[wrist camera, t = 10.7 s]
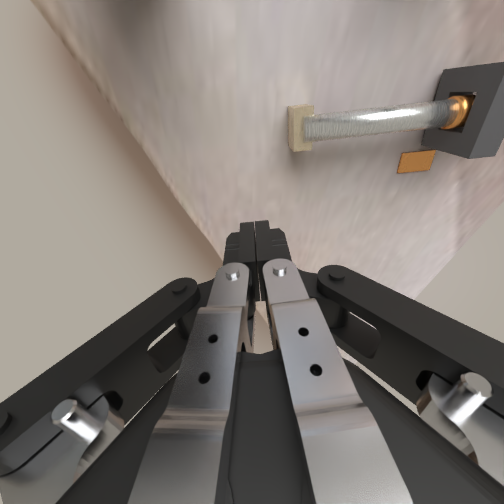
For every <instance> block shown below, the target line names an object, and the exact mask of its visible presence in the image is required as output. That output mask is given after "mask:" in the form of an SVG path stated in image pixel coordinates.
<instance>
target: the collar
mask: <svg viewBox="0 0 504 504" xmlns="http://www.w3.org/2000/svg"><path fill="white" fill-rule="evenodd" d="M473 92H477V94H476V97H475V100H474V102H473V105H472V108H471V110H470V113H469V115H468V118H467V121H466V123H465V126H464V127H460V128H451V129H442V128H431V129H426V131H425V134H424V137H423V141H422V144H421V145H422V146H426V147H429V148H433V149H436V150H440V151H443V152H447V153H450V154H454V155H457V156H461V157H464V158H467V159H472V158H482V157H491V156H495V155H496V153H497V151H498V149H499V147H500V144H501V142H502V140H503V138H504V62H499V63H491V64H484V65H476V66H468V67H461V68H453V69H445V70H443V73H442V77H441V80H440V83H439V87H438V90H437V94H436V97H435V100H434V101H439V100H447V99H448V98H450V97H453V96H461V95H469V94H473Z"/></svg>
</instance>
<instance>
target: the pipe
mask: <svg viewBox="0 0 504 504" xmlns="http://www.w3.org/2000/svg"><path fill="white" fill-rule="evenodd" d="M475 97H476V95H474V94H469V95H461V96H453V97H450V98H448V99H447V100H439V101H430V102H422V103H413V104H404V105H396V106H387V107H379V108H370V109H362V110H353V111H345V112H336V113H328V114H319V115H314V106H313V105H307V104H304V105H295V106H288V145H289V146H290V148H291V149H292V150H293V151H294V152H297V151H306V150H312V142H316V141H324V140H333V139H342V138H351V137H360V136H369V135H378V134H387V133H396V132H405V131H414V130H423V129H431V128H442V129H451V128H460V127H464V126H465V123H466V121H467V118H468V115H469V113H470V110H471V108H472V105H473V102H474V100H475ZM435 152H436V150H427V151H418V152H408V153H402V155H401V158H400V162H399V166H398V170H397V173H405V172H414V171H424V170H430V167H431V164H432V161H433V158H434V155H435Z"/></svg>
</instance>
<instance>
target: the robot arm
mask: <svg viewBox="0 0 504 504" xmlns="http://www.w3.org/2000/svg"><path fill="white" fill-rule="evenodd" d="M255 233H256V238H255ZM258 273H259V275H258ZM259 282H260V291H261V301H266V310H267V318H268V324H269V329H270V334H271V340H272V345H273V351H270V352H267V353H264V354H255V353H253V348H254V331H255V310H256V303H255V302H256V301H260V291H259ZM350 312H352V313H353V314H355V315H356V316H358V317H360V318H361V319H363V320H365V321H366V322H368V323H369V324H371V325H373V326H374V327H375V328H376V329H377V330H376V329H375V328H373V327H371V326H370V325H368V324H367V323H365V322H363V321H362V320H360V319H359V318H357V317H355V316H354V315H352V314H351V313H350ZM174 323H175V326H176V327H174V328H173V329H172V330H171V331H170V332H169V333H168V334H167V335H165V336H164V337H163V338H162V339H161V340H160V341H158V342H157V343H156V344H155V345H154V346H153V347H152V348H150V349H149V350H148V347H149V345H150V344H151V343H152V342H153V341H154V340H155V339H156V338H157V337H159V336H160V335H161V334H162V333H163V332H164V331H166V330H167V329H168V328H169V327H170V326H171V325H173V324H174ZM337 346H338V347H340V348H341V349H342V350H344V351H345V352H346V353H348V354H349V355H350V356H352V357H353V358H354V359H356V360H357V361H358V362H360V363H361V364H362V365H364V366H365V367H366V368H367V369H369V370H370V371H371V372H373V373H374V374H375V375H377V376H378V377H379V378H381V379H382V380H383V381H385V382H386V383H387V384H389V385H390V386H391V387H392V388H394V389H395V390H396V391H398V392H399V393H400V394H402V395H403V396H404V397H406V398H407V399H409V400H410V401H411V402H412V403H413V404H415V405H416V406H417V411H418V413H419V416H420V417H419V416H418V415H416V414H415V413H414V412H413V411H412V410H410V409H409V408H408V407H407V406H405V405H404V404H403V403H402V402H401V401H399V400H398V399H397V398H396V397H395V396H393V395H392V394H391V393H390V392H388V391H387V390H386V389H385V388H384V387H382V386H381V385H380V384H379V383H377V382H376V381H375V380H374V379H373V378H371V377H370V376H369V375H368V374H366V373H365V372H364V371H363V370H361V369H360V368H359V367H358V366H356V365H354V364H353V363H351V362H350V361H348V360H346V359H344V358H342V357H341V354H340V352H339V350H338V348H337ZM147 350H148V351H147ZM178 370H179V371H178ZM177 371H178V373H176V372H177ZM175 373H176V374H175ZM174 374H175V375H174ZM173 375H174V376H173ZM172 376H173V377H172ZM171 377H172V378H171ZM170 378H171V379H170ZM163 385H164V386H163ZM162 386H163V387H162ZM161 387H162V388H161ZM160 388H161V389H160ZM159 389H160V390H159ZM158 390H159V391H158ZM157 391H158V392H157ZM156 392H157V393H156ZM155 393H156V394H155ZM151 398H152V399H151ZM150 399H151V400H150ZM149 400H150V401H149ZM148 401H149V402H148ZM147 402H148V403H147ZM146 403H147V404H146ZM145 404H146V405H145ZM144 405H145V406H144ZM143 406H144V407H143ZM142 407H143V408H142ZM141 408H142V410H141V411H140V412H139V413H138V414H137V415H136V416H135V417H134V418H133V419H132V420H131V421H130V423H129V424H128V425H127V426H126V427H125V428H124V425H125V424H126V423H127V422H128V421H129V420H130V419H131V418H132V417H133V416H134V415H135V414H136V413H137V412H138V411H139V410H140V409H141ZM0 493H1V497H2V501H3V504H504V343H501V342H500V341H498V340H495V339H493V338H491V337H489V336H487V335H485V334H483V333H481V332H479V331H477V330H475V329H473V328H471V327H469V326H467V325H464V324H462V323H460V322H458V321H456V320H454V319H452V318H450V317H448V316H446V315H443V314H442V313H440V312H437V311H435V310H433V309H431V308H429V307H427V306H425V305H423V304H421V303H419V302H417V301H415V300H413V299H410V298H408V297H406V296H404V295H402V294H400V293H398V292H396V291H394V290H392V289H390V288H388V287H386V286H384V285H381V284H379V283H377V282H375V281H373V280H371V279H369V278H367V277H365V276H363V275H361V274H359V273H357V272H354V271H352V270H350V269H348V268H346V267H343V266H339V265H328V266H325V267H323V268H321V269H320V270H319V271H318V274H316V273H309V272H305V271H302V270H299V269H298V268H297V267H296V265H295V264H294V263H293V262H292V260H291V256H290V252H289V248H288V245H287V241H286V237H285V234H284V232H283V231H282V230H280V229H279V228H277V229H270V227H269V221H268V220H265V221H255V229H254V222H245V223H240V232H236V233H231V234H230V235H229V236H228V237H227V240H226V247H225V253H224V260H223V266H222V267H221V268H219V269H218V271H217V272H216V275H215V278H214V279H212V280H210V281H207V282H204V283H201V284H198V285H197V282H196V281H195V280H194V279H192V278H179V279H176V280H174V281H172V282H170V283H169V284H167V285H166V286H164V287H163V288H162V289H160V290H159V291H157V292H156V293H155V294H153V295H152V296H150V297H149V298H148V299H146V300H145V301H144V302H142V303H141V304H139V305H138V306H136V307H135V308H133V309H132V310H131V311H129V312H128V313H127V314H125V315H124V316H122V317H121V318H119V319H118V320H117V321H115V322H114V323H113V324H111V325H110V326H108V327H107V328H105V329H104V330H103V331H101V332H100V333H98V334H97V335H96V336H94V337H93V338H91V339H90V340H89V341H87V342H86V343H84V344H83V345H82V346H80V347H79V348H77V349H76V350H75V351H73V352H72V353H70V354H69V355H68V356H66V357H65V358H63V359H62V360H60V361H59V362H58V363H56V364H55V365H53V366H52V367H51V368H49V369H48V370H46V371H45V372H44V373H42V374H41V375H39V376H38V377H37V378H35V379H34V380H33V381H31V382H30V383H28V384H27V385H26V386H24V387H23V388H21V389H20V390H18V391H17V392H16V393H14V394H13V395H11V396H10V397H9V398H7V399H6V400H4V401H3V402H2V403H0Z"/></svg>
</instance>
